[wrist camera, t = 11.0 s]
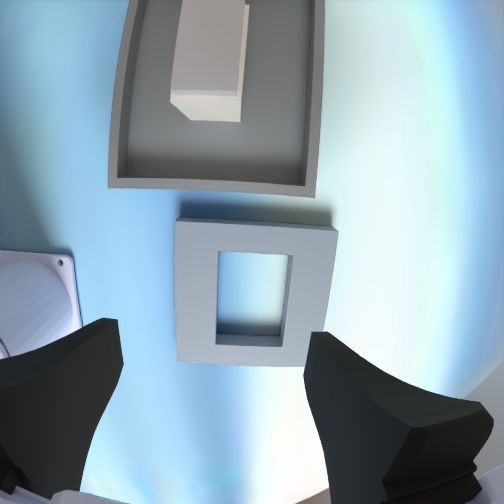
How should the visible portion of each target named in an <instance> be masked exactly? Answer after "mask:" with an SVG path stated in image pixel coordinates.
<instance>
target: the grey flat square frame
mask: <svg viewBox="0 0 504 504" xmlns="http://www.w3.org/2000/svg"><path fill="white" fill-rule="evenodd" d="M338 232H339V231H337V230H336V229H335V228H333V227H331V226H318V225H304V224H290V223H276V222H260V221H244V220H226V219H208V218H187V217H179V218H178V219H177V220H176V221H175V243H174V274H175V320H176V344H177V361H179V362H190V363H203V364H219V365H238V366H273V367H305V364H306V359H307V354H308V348H309V343H310V337H311V332H323V328H324V323H325V317H326V312H327V306H328V300H329V294H330V288H331V282H332V275H333V269H334V262H335V255H336V247H337V240H338ZM219 251H225V252H243V253H261V254H279V255H289V261H288V271H287V280H286V289H285V298H284V306H283V314H282V323H281V331H280V336H254V335H232V334H217V301H218V273H219Z"/></svg>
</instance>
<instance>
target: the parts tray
mask: <svg viewBox="0 0 504 504" xmlns="http://www.w3.org/2000/svg"><path fill="white" fill-rule="evenodd" d="M182 2H183V0H130V2H129V6H128V11H127V15H126V20H125V25H124V30H123V35H122V40H121V46H120V52H119V58H118V64H117V71H116V78H115V86H114V94H113V103H112V113H111V125H110V139H109V157H108V188H139V189H179V190H205V191H225V192H243V193H258V194H272V195H285V196H298V197H309V198H315V189H316V178H317V166H318V154H319V140H320V125H321V109H322V89H323V65H324V22H325V0H245V5H249V18H248V31H247V45H246V57H245V69H244V81H243V94H242V106H241V119H240V122H230V121H205V120H190V119H189V118H188V117H187V116H185V115H184V114H183V113H182V112H181V111H180V110H179V109H178V108H176V107H175V106H174V105H173V104H172V103H171V102H170V96H171V90H170V88H171V79H172V70H173V62H174V54H175V47H176V40H177V33H178V26H179V20H180V14H181V8H182Z"/></svg>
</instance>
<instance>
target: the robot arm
mask: <svg viewBox="0 0 504 504" xmlns="http://www.w3.org/2000/svg"><path fill="white" fill-rule="evenodd" d="M60 259H61V260H62V261H63V264H61V262H60ZM123 365H124V362H123V356H122V350H121V343H120V335H119V328H118V319H110V318H101V319H98V320H96V321H94V322H92V323H90V324H88V325H86V326H84V327H82V323H81V317H80V311H79V304H78V297H77V290H76V281H75V272H74V262H73V259H72V258H71V257H70V256H68V255H57V254H44V253H32V252H20V251H7V250H0V504H129V503H124V502H120V501H116V500H111V499H107V498H104V497H100V496H96V495H93V494H89V493H83V492H79V491H80V485H81V480H82V475H83V471H84V466H85V462H86V459H87V455H88V451H89V448H90V445H91V441H92V438H93V435H94V432H95V430H96V427H97V425H98V423H99V421H100V419H101V417H102V415H103V413H104V411H105V409H106V406H107V404H108V402H109V400H110V398H111V396H112V394H113V392H114V390H115V388H116V386H117V383H118V381H119V378H120V374H121V371H122V368H123ZM303 377H304V383H305V390H306V395H307V399H308V403H309V406H310V409H311V412H312V415H313V418H314V422H315V425H316V428H317V431H318V434H319V437H320V440H321V444H322V447H323V451H324V457H325V462H326V468H327V474H328V481H329V488H330V494H331V495H330V496H331V504H504V464H502V465H500V466H499V467H497V468H495V469H493V470H491V471H488V472H486V473H485V474H483V475H482V476H481V477H480V478H478V479H476V477H475V476H474V474H473V473H474V472H475V471H476V470H477V466H476V465H475V463H474V462H473V460H474V458H475V457H476V456H477V454H478V453H479V451H480V450H481V448H482V447H483V446H484V444H485V443H486V441H487V440H488V438H489V436H490V434H491V432H492V429H493V425H494V421H493V418H492V417H491V415H490V414H489V413H488V411H487V410H486V409H485V408H484V406H483V405H482V404H481V403H480V402H476V401H469V400H463V399H457V398H451V397H447V396H443V395H440V394H436V393H433V392H429V391H426V390H424V389H421V388H418V387H416V386H413V385H410V384H408V383H406V382H404V381H401V380H400V379H398V378H396V377H394V376H392V375H390V374H388V373H386V372H384V371H382V370H381V369H379V368H378V367H376V366H374V365H373V364H371V363H370V362H368V361H367V360H365V359H364V358H362V357H361V356H360V355H358V354H357V353H356V352H354V351H353V350H352V349H350V348H349V347H348V346H346V345H345V344H344V343H342V342H341V341H340V340H338V339H337V338H336V337H335V336H333V335H332V334H330V333H329V332H311V337H310V343H309V348H308V354H307V359H306V364H305V370H304V375H303Z"/></svg>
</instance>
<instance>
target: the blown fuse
mask: <svg viewBox="0 0 504 504" xmlns="http://www.w3.org/2000/svg"><path fill="white" fill-rule="evenodd" d="M248 18H249V5H245V0H183V2H182V8H181V14H180V20H179V26H178V33H177V40H176V47H175V54H174V62H173V70H172V79H171V88H170V90H171V96H170V102H171V103H172V104H173V105H174V106H175V107H176V108H178V109H179V110H180V111H181V112H182V113H183V114H184V115H185V116H187V117H188V118H189V119H190V120H205V121H230V122H240V119H241V106H242V94H243V81H244V69H245V57H246V45H247V31H248Z"/></svg>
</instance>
